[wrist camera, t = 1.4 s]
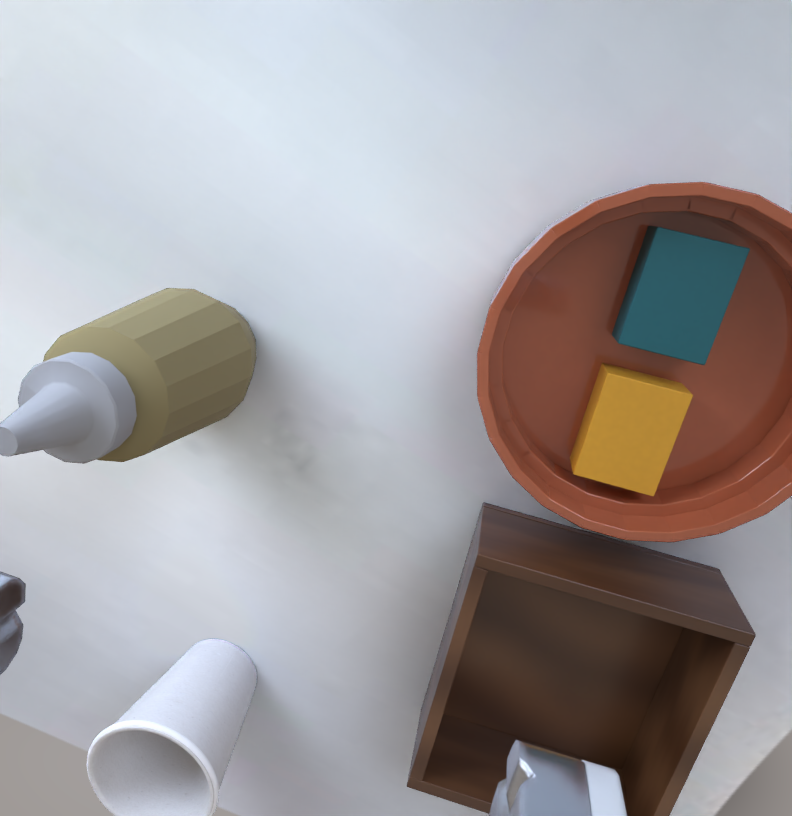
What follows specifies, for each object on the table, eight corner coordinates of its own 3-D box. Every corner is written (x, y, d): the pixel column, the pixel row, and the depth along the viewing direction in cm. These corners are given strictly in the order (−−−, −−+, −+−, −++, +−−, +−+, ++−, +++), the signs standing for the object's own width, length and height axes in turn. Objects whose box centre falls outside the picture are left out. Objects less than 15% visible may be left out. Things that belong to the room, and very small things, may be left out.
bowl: (532, 150, 35) (534, 142, 31) (886, 232, 34) (939, 235, 29) (447, 459, 41) (440, 488, 37) (746, 542, 39) (774, 582, 35)
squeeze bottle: (300, 368, 41) (147, 481, 24) (202, 430, 43) (0, 573, 26) (224, 254, 40) (6, 289, 23) (128, 324, 42) (-134, 403, 25)
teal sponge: (648, 225, 35) (657, 226, 33) (734, 245, 34) (750, 248, 32) (611, 335, 37) (617, 343, 34) (692, 355, 36) (704, 366, 34)
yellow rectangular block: (601, 362, 37) (607, 372, 35) (682, 383, 37) (693, 395, 35) (569, 458, 39) (572, 474, 37) (645, 479, 39) (653, 497, 36)
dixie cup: (295, 667, 48) (241, 781, 38) (241, 738, 50) (177, 861, 41) (198, 601, 47) (119, 699, 38) (148, 676, 50) (63, 785, 41)
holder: (483, 501, 41) (477, 553, 35) (719, 568, 40) (756, 634, 34) (421, 709, 47) (406, 786, 40) (627, 775, 45) (645, 865, 39)
